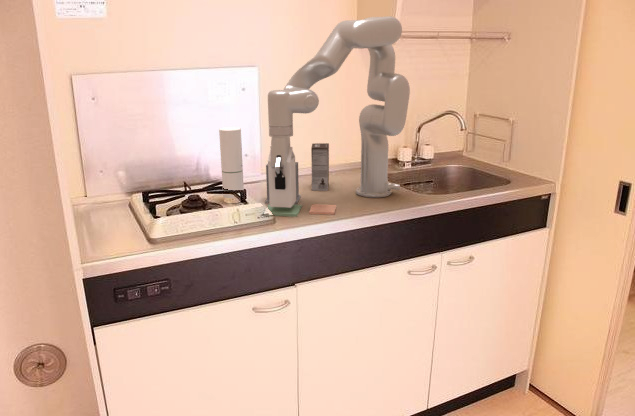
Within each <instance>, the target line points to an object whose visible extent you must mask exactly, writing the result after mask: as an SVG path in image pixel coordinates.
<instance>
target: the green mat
mask: <svg viewBox="0 0 635 416" xmlns="http://www.w3.org/2000/svg"><path fill="white" fill-rule="evenodd" d="M267 207H268V209H269V210H270V211H271V212H272V214H273V215H275V216H274V217H292V218H293V217H296V218H297V217H298V216H299V214H300V212H301V209H302V207H303V206H302V204H294V205H293V206H292V207H291V208H287V207H270V203H268V205H267ZM267 207H266V208H267Z"/></svg>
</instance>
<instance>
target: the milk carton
mask: <svg viewBox="0 0 635 416" xmlns="http://www.w3.org/2000/svg"><path fill="white" fill-rule="evenodd" d="M269 147H270V150H269V155H268V160H267V164H268V177H269V201H270V203H269V204H270V207H287V208H291V207H292V206H293V205H295V204H294V203H295V202H296V168H295V162H296V155H295V153H294V150H293V146H290V147H289V154H288V158H287V163H286V168H285V169H284V177H285V187H286V188H285V190H280V189H275V167H273V169H272V168H271V145H270V146H269ZM275 166H276V164H275ZM280 167H283V164H282V162H281V164H280ZM281 171H282V170H281Z"/></svg>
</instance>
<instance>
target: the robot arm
mask: <svg viewBox="0 0 635 416" xmlns="http://www.w3.org/2000/svg"><path fill="white" fill-rule="evenodd" d="M402 33H403V26H402V24H401V22H400V20H399V19H398V18H396V17H394V16H371V17H366V18H363V19H349V20H341V21H340V22H339V23H337V24H336V25H335V27H334V28H333V29H332V31H331V32H330V34H329V35H328V37H327V38H326V39H325V41H324V42H323V44H322V46H321V47H320V48H319V50H318V52H317V53H316V55H314V56H313V57H312V58H311V59H310V60H308V61H307V62H306V63H304V65H302V66H301V67H300V68H298V70H296V72H295V73H294V74H293V75H292V76H291V78H290V79H289V80H288V82H287V83H286V85H284V86H285V87H284V88H283V89H275V90H271V91H269V92H268V94H267V115H268V136H269V137H270V139H271V140H270V141H271V142H270V146H271V168H272V169H273V167H275V189H280V190H285V188H286V187H285V177H284V169H285V168H286V163H287V158H288V154H289V147H291V137H294V120H293V119H294V118H293V117H294V114H305V115H306V114H311V113H312V112H314V111H315V110H316V109H317V108H318V106H319V104H320V99H319V97H318V94H317V93H316V92H315V91H314V90H312V89H311V88H312V87H313V86H314V85H316V83H318V82H320V81H322V80H324V79H327V78H329V77H331V76H333V75H335V74H336V73H337V72H338V71H340V69H341V67H342V66H343V64H344V62H345V61H346V60H347V58H348V57H349V55H350V54H351V52H352V51H353V50H354V49H361V50H362V49H368V53H369V70H368V79H367V86H366V92H367V93H366V94H367V96H368V97H369V98H370V99H372V100H374V101H378V102H384V105H382V104H373V103H372V104H368V105H366V106H364V107H363V108H362V109H361V111H360V113H359V116H358V117H359V118H358V124H359V131H360V140H361V151H360V186H359V187H357V188H355V194H357V195H358V196H361V197H364V198H365V197H366V198H371V199H372V198H374V199H375V198H377V199H378V198H385V197H388V196H390V195H391V194H392V190H396V191H397V190H398V191H400V189H401V188H400V187H401V186H400V184H397V183H395V182H394V183H393V182H392V183H391V182H389V179H388V168H389V167H388V165H389V140H388V136H389V137H395V136H398V135H400V134H401V132H402V131H403V130H404V128H405V125H406V122H407V114H408V109H409V103H410V102H409V101H410V94H411V89H410V83H409V80H408V79H407V78H406V76H404V74H403V75H402V74H400V73H395V71H396V70H395V68H396V51H395V49H394V46H393V45H394V44H395V43H397V42H398V41H399V39H400V38H401V37H402ZM281 162H282V164H283V167H280V164H281ZM275 164H276V166H275ZM281 170H282V171H281Z"/></svg>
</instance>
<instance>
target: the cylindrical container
mask: <svg viewBox="0 0 635 416" xmlns="http://www.w3.org/2000/svg"><path fill="white" fill-rule="evenodd" d="M218 132H219V145H220V146H219V149H220V150H219V151H220V163H221V164H220V165H221V166H220V167H221V180H222V181H221V183H222V189H223V188H224V189H228V190H244V191H245V188H244V187H245V185H244V169H243V167H244V166H243V147H242V146H243V145H242V128H241V127H237V126H227V127H226V126H225V127H221V128H219V129H218ZM223 197H225V198H234V195H230V194H226V195H223V194H222V198H223Z"/></svg>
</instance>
